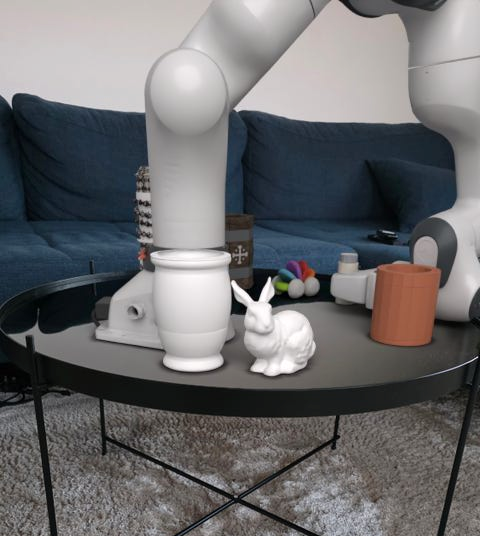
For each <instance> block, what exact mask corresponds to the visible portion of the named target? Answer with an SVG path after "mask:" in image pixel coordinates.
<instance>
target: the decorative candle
mask: <svg viewBox="0 0 480 536" xmlns="http://www.w3.org/2000/svg"><path fill="white" fill-rule="evenodd" d="M134 176H135V178H136V183H135V184H136V191H135V198H133V200H132V201H133V203H134V204H136V205H137V206H135V207H134V208H133V213H135V215H136V216H135V217H134V218H133V220H134V221H135V223H136V224H138V226H137V227H136V228H135V233H136V234H137V236H136V241H137V242H139V244H140V246H139V252H141V251H142V250H144V249H145V248H147V247H149V246H150V245H151V244H153V236H152V216H151V196H150V179H149V165H141V166H140V167H139V168H138V170H137V172H136V173H135V174H134ZM138 269H139V271H140V272H141V271H142V270H143V269H144V268H143V259H141V260H139V265H138Z"/></svg>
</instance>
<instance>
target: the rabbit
mask: <svg viewBox="0 0 480 536" xmlns="http://www.w3.org/2000/svg"><path fill="white" fill-rule="evenodd" d="M271 281H272V277H271V276H268V278H267V281H266V283H265V285H264V286H263V288H262V290H261V293H260V296H259V299H258V301H254V300H253V299H252V297H251V296H250V295H249V293H247V291H246V290H245V289H244V290H243V289H241V288H240V287H239V286H238V285H237V284H236V282H235V281H234V280H232V282H231V285H232V287H233V289H234V291H233V294H234V298H235V300H236V301H237V302H239V303H240V304H242V305H244V306H245V307H246V312H245V316H244V320H243V324H244V327H245V329H246V330H245V332H244V337H243V342H244V346H245V349H246V350H247V351H248V352H249V353H250V354H251V355H252V356H253V357H255V358H256V359H255V361H254V363H253V364H252V365H251V367H250V371H251V372H252V373H260V374H261V373H262V374H263V375H264V376H267V377H276V376H278V375H280V374H287V375H288V374H289V375H290V374H294V373H295V372H297V371H299V370H302V369H304V368H305V367H307V364H308V360H310V359H311V358H312V357H313V356H314V354H315V352H316V348H317V346H316V342H315V341H314V331H313V329H312V326H311V323H310V321H309V319H308V318H307V316H305V315H304V314H303V313H301V312H299V311H295V310H292V309H288V310H287V309H286V310H283V311H282V310H281V311H279V312H277V313H275V314H272V309H273V307H272V305H271V304H270V303H269V302H270V301H271V299H272V298H273V297H274V296H275V293H274V288H273V285H272V283H271Z"/></svg>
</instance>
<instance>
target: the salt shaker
mask: <svg viewBox="0 0 480 536" xmlns="http://www.w3.org/2000/svg"><path fill="white" fill-rule="evenodd" d="M339 255H340V256H339V261H338V262H337V272H336V273H351V272H357V271H358V270H359V264H360V263H359V262H358V258H359V254H358V253H354V252H341V253H340V254H339ZM334 298H335V301H334V302H335V303H336V304H338V305H343V306H344V305H346V306H348V305H350V306H351V305H354V304H356V303H354V302H351V301H347V300H343V299H340V298H337V297H334Z"/></svg>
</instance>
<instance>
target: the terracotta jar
mask: <svg viewBox="0 0 480 536" xmlns="http://www.w3.org/2000/svg"><path fill="white" fill-rule="evenodd" d="M376 268H377V272H376V282H375V292H374V302H373V309H372V313H371V322H370V334H369V337H370V338H371V339H372V340H374V342H375V341H376V342H378V343H381V344H385V345H391V346H398V347H418V346H425V345H427V344H430V343H431V342H432V337H433V332H434V325H435V311H436V304H437V297H438V291H439V284H440V277H441V270H440V269H438V268H436V267H432V266H425V265H416V264H392V263H385V264H380V265H378V266H377V267H376Z"/></svg>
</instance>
